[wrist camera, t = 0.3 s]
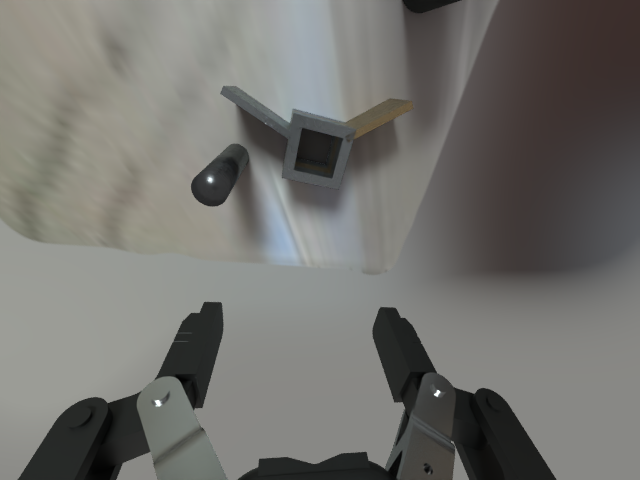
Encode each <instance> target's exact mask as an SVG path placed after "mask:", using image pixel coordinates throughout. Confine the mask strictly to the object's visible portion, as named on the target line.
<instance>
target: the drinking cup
mask: <svg viewBox="0 0 640 480" xmlns="http://www.w3.org/2000/svg"><path fill="white" fill-rule="evenodd" d="M403 1H404V4H405V5H406V7H407V8H408V9H409V10H410V11H412V12H415V13H423V12H426V11H429V10H432V9H435V8H439V7H442V6H445V5H448V4H451V3H454V2H457V1H461V0H403Z"/></svg>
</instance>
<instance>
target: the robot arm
mask: <svg viewBox="0 0 640 480" xmlns="http://www.w3.org/2000/svg"><path fill="white" fill-rule="evenodd" d="M222 334H223V312H222V303H221V302H204V304H203V306H202V309H201V311H200V313H191V314H190V315H189V316H188V317H187V318H186V319H185V320H184V321H183V322H182V324H181V326H180V328H179V330H178V333H177V334H176V337H175V339H174V342H173V343H172V345H171V348H170V349H169V352H168V354H167V356H166V358H165V361H164V362H163V365H162V367H161V369H160V371H159V373H158V375H157V377H156V378H155V380H154V381H152V382H151V383H149V384H148V385H147V386H146V387H145V388H144V389H143V390H142V391H141V392H139V393H137V394H135V395H132V396H129V397H126V398H123V399H120V400H117V401H113V402H110V403H107V402H106V401H105V400H104V399H102V398H98V397H93V398H88V399H85V400H82V401H79V402H77V403H76V404H74V405H72V406H71V407H70V408H68V409H67V410H65V411H64V412H63V413H62V414H61V415H60V416H59V418H58V419H57V420H56V422H55V423H54V425H53V426H52V428H51V429H50V431H49V433H48V434H47V436H46V437H45V439H44V440H43V442H42V443H41V445H40V446H39V448H38V449H37V451H36V452H35V454H34V456H33V457H32V459H31V460H30V462H29V464H28V465H27V466H26V468H25V469H24V471H23V473H22V474H21V476H20V477H19V479H18V480H116V479H117V476H118V474H119V471H120V469H121V466H122V463H124V462H126V461H128V460H131V459H134V458H136V457H138V456H141V455H143V454H146V453H148V452H151V455H152V458H153V462H154V468H155V472H156V476H157V479H158V480H228V479H227V477H226V475H225V473H224V470H223V468H222V466H221V464H220V462H219V460H218V457H217V455H216V453H215V451H214V449H213V447H212V444H211V442H210V440H209V438H208V436H207V434H206V432H205V430H204V429H203V428H202V427H201V426H200V424H199V421H198V419H197V417H196V415H195V413H194V409H195V408H202V407H203V404H204V400H205V397H206V393H207V389H208V385H209V382H210V378H211V375H212V371H213V367H214V364H215V360H216V356H217V353H218V349H219V345H220V342H221V339H222ZM373 339H374V342H375V345H376V348H377V351H378V354H379V357H380V360H381V363H382V366H383V369H384V372H385V375H386V378H387V381H388V384H389V387H390V390H391V393H392V396H393V399H394V402H403V404H404V406H405V410H404V412H403V415H402V418H401V422H400V425H399V428H398V432H397V435H396V439H395V442H394V445H393V449H392V451H391V454H390V457H389V459H388V461H387V464H386V466H385V469H384V468H383V467H381V466H379V465H378V464H376V463H373V462H371V461H368V457H367V452H361V453H360V452H358V453H343V454H339V455H337V456H335V457H332V458H330V459H328V460H325V461H323V462H320V463H318V464H311V463H307V462H303V461H300V460H295V459H292V458H288V457H281V458H267V459H259V467H258V468H255V469H253V470H251V471H249V472H247V473H246V474H244V475H243V476H242V477H240V478H239V479H238V480H452V478H453V469H454V459H455V446H456V448H457V451H458V453H459V456H460V458H461V460H462V463H463V465H464V468H465V470H466V473H467V475H468V477H469V480H556V478H555V477H554V475H553V474H552V472H551V470H550V469H549V467H548V466H547V464H546V463H545V461H544V460H543V458H542V456H541V455H540V453H539V452H538V450H537V448H536V447H535V446H534V444H533V442H532V441H531V439H530V438H529V436H528V435H527V433H526V431H525V430H524V428H523V427H522V425H521V423H520V422H519V420H518V419H517V417H516V416H515V414H514V413H513V411H512V409H511V408H510V406H509V405H508V403H507V402H506V401H505V400H504V399H503V398H502V397H501V396H500V395H498V394H497V393H496V392H494V391H492V390H490V389H485V388H481V389H479V390H477V392H476V393H475V394H473V393H470V392H467V391H463V390H460V389H457V388H454V387H453V386H452V384H451V383H450V382H449V381H448V380H447V379H446V378H445V377H443V376H442V375H439V374H437V372H436V370H435V368H434V366H433V364H432V362H431V360H430V359H429V357H428V355H427V353H426V351H425V349H424V347H423V345H422V344H421V341H420V339H419V338H418V337H417V333H416V331H415V330H414V328H413V326H412V325H411V324H410V323H409V322H408V321H407V320H406V319H405V318H400V315H399V313H398V311H397V309H396V308H388V307H381V308H380V309H379V311H378V314H377V317H376V320H375V323H374V326H373ZM451 441H454V444H455V446H454V445H453V444H452V443H451Z"/></svg>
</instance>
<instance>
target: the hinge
mask: <svg viewBox="0 0 640 480" xmlns="http://www.w3.org/2000/svg"><path fill="white" fill-rule="evenodd" d="M220 94H222V95H223V96H225V97H226V98H228V99H229V100H231V101H232V102H234V103H235V104H237V105H238V106H240V107H241V108H243V109H244V110H246V111H247V112H249V113H250V114H252V115H253V116H255V117H256V118H258V119H259V120H261V121H262V122H264V123H265V124H267V125H268V126H270V127H271V128H273V129H274V130H276V131H277V132H279V133H280V134H282V135H283V136H285V137H286V138H288V139H287V144H286V150H285V156H284V162H283V171H282V178H285V179H289V180H294V181H299V182H304V183H309V184H313V185H318V186H323V187H328V188H332V189H337V190H339V188H340V184H341V181H342V177H343V174H344V171H345V167H346V164H347V160H348V157H349V154H350V150H351V147H352V143H353V140H354V139H356V138H358V137H360V136H362V135H364V134H366V133H367V132H369V131H371V130H373V129H375V128H377V127H379V126H381V125H383V124H385V123H386V122H388V121H390V120H392V119H394V118H396V117H398V116H400V115H402V114H404V113H405V112H407V111H409V110H411V109H413V104H412V101H408V100H398V99H388V100H387V101H385V102H383V103H381V104H379V105H377V106H375V107H374V108H372V109H370V110H368V111H366V112H364V113H363V114H361V115H359V116H357V117H355V118H353V119H351V120H350V121H348V122H346V123H345V122H341V121H337V120H334V119H330V118H326V117H323V116H319V115H315V114H311V113H308V112H304V111H300V110H296V109H293V110H292V116H291V121H290V123H288V122H287V121H285V120H284V119H283V118H281V117H280V116H278V115H277V114H275V113H274V112H272V111H271V110H270V109H268V108H267V107H265V106H264V105H262V104H261V103H259V102H258V101H257V100H255V99H254V98H252V97H251V96H249V95H248V94H247V93H245V92H244V91H242V90H241V89H239V88H238V87H236V86H223V88H222V91H221V93H220ZM302 128H305V129H309V130H313V131H317V132H321V133H325V134H329V135H333V137H332V141H331V144H330V148H329V152H328V156H327V160H326V164H322V163H318V162H314V161H309V160H305V159H301V158H296V156H297V151H298V146H299V140H300V135H301V130H302Z"/></svg>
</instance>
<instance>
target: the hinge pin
mask: <svg viewBox="0 0 640 480" xmlns="http://www.w3.org/2000/svg"><path fill="white" fill-rule="evenodd" d="M248 160H249V155H248V152H247V150H246V149H245V148H244V147H243V146H241V145H239V144H231V145H229V146H228V147H227V148H226V149H225V150H224V151H223V152H222V153H221V154H220V155H218V156H217V157H216V158H215V159H214V160H213V161H212V162H211V163H210V164H209V165H208V166H207V167H206V168H205V169H203V170H202V171H201V172H200V173H199V174H198V175H197V176H196V177H195V178H194V179H193V181H192V184H191V190H192V193H193V195H194V197H195V198H196V199H197V200H198V201H199V202H200V203H202V204H204V205H207V206H219V205H221V204H222V203H224V202H225V200H226V199H227V197H228V195H229V194H230V192H231V190H232V188H233V187H234V185H235V183H236V181H237V180H238V178H239V176H240V175H241V173H242V171H243V169H244V168H245V166H246V164H247V162H248Z"/></svg>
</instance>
